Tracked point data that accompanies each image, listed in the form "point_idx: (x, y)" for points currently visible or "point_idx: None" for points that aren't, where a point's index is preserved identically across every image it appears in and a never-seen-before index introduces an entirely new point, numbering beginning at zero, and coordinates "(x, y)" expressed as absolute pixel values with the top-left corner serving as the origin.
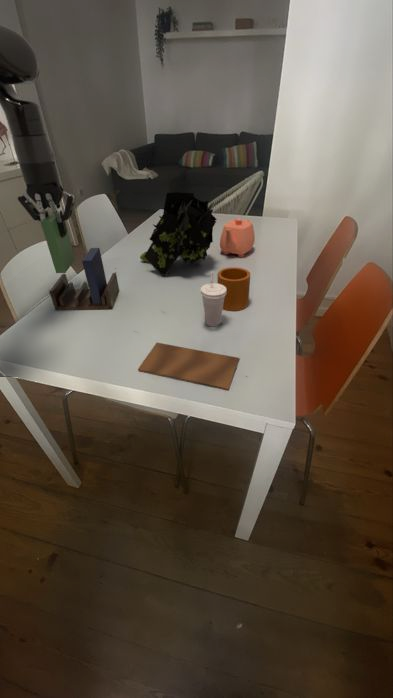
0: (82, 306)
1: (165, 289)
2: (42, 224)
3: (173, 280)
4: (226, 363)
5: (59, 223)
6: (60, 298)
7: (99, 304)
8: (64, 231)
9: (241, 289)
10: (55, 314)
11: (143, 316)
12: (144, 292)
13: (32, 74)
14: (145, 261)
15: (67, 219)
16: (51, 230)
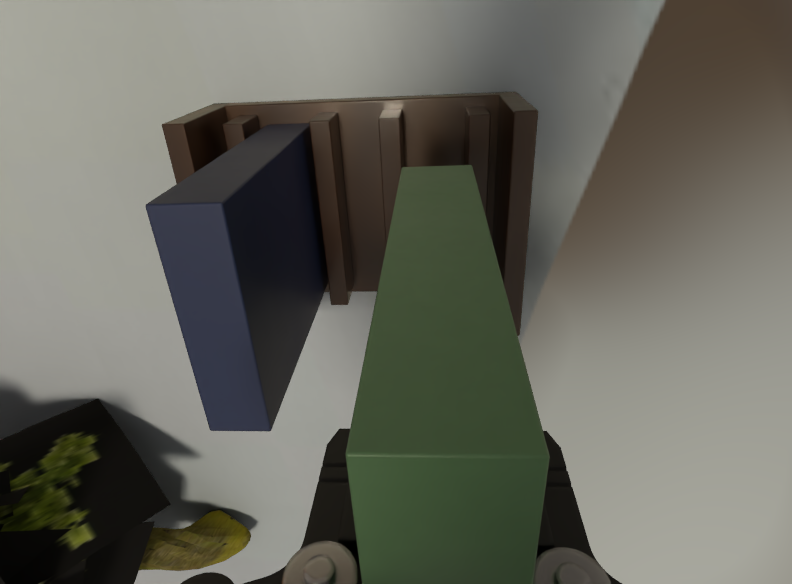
0: (363, 105)
1: (43, 295)
2: (518, 422)
3: (46, 370)
4: None
5: (340, 534)
6: (478, 114)
7: (276, 124)
8: (332, 458)
9: None
10: (505, 48)
11: (21, 29)
12: (127, 270)
13: None
14: (228, 515)
15: (189, 578)
16: (387, 352)
